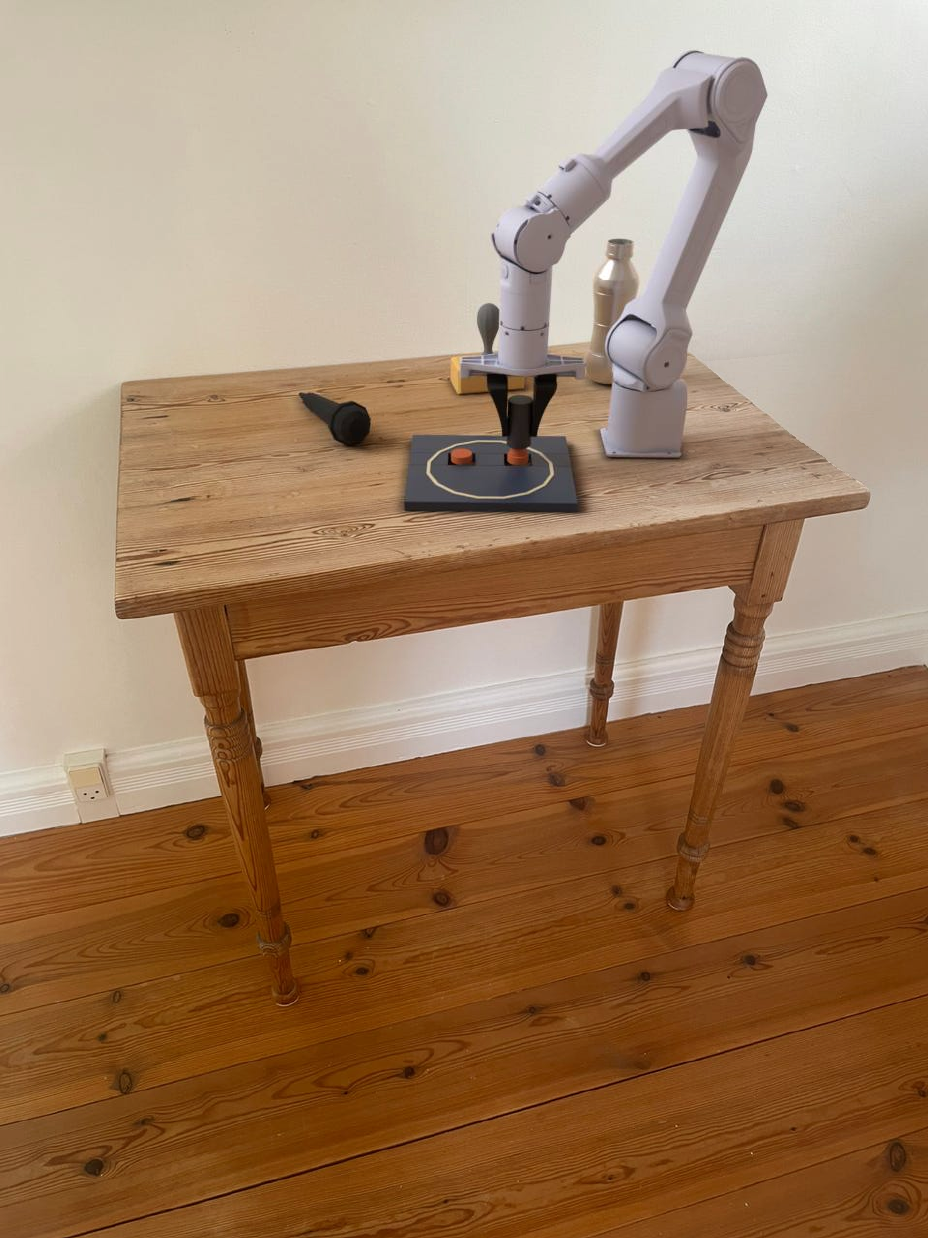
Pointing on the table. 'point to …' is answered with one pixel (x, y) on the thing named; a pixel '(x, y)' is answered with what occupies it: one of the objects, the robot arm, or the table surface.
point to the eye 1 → (461, 456)
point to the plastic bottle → (610, 303)
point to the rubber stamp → (488, 332)
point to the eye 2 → (518, 459)
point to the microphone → (340, 417)
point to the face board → (489, 476)
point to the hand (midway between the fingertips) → (519, 433)
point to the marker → (519, 424)
